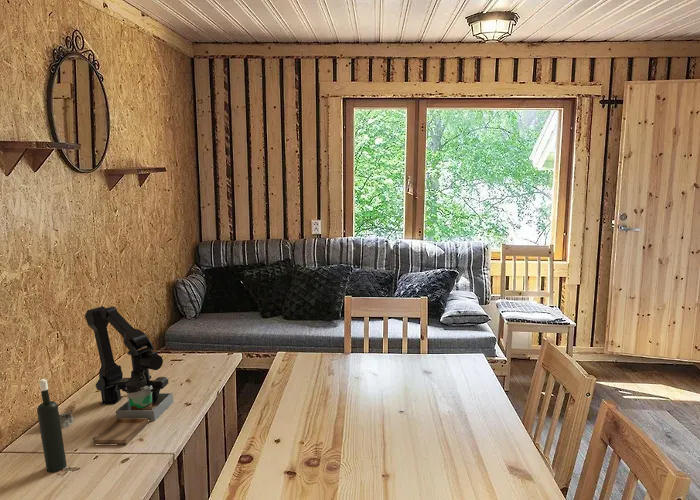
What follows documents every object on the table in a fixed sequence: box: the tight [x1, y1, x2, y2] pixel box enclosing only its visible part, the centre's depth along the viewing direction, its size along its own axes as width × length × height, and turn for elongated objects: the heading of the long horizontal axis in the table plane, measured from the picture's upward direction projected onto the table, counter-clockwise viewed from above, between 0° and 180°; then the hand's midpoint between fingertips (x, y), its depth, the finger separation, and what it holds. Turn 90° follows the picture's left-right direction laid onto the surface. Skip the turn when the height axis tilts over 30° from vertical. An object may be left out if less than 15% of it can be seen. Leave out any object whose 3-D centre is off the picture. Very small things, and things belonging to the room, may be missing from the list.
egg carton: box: [38, 410, 74, 429], centre depth 211 cm, size 11×8×4 cm
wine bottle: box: [36, 378, 67, 473], centre depth 178 cm, size 6×6×30 cm
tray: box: [92, 417, 150, 446], centre depth 201 cm, size 12×16×2 cm
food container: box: [126, 386, 153, 410], centre depth 218 cm, size 12×6×10 cm, turn 168°
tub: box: [115, 392, 174, 422], centre depth 218 cm, size 15×16×4 cm
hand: (145, 404), depth 218 cm, fingers open, 8 cm apart
